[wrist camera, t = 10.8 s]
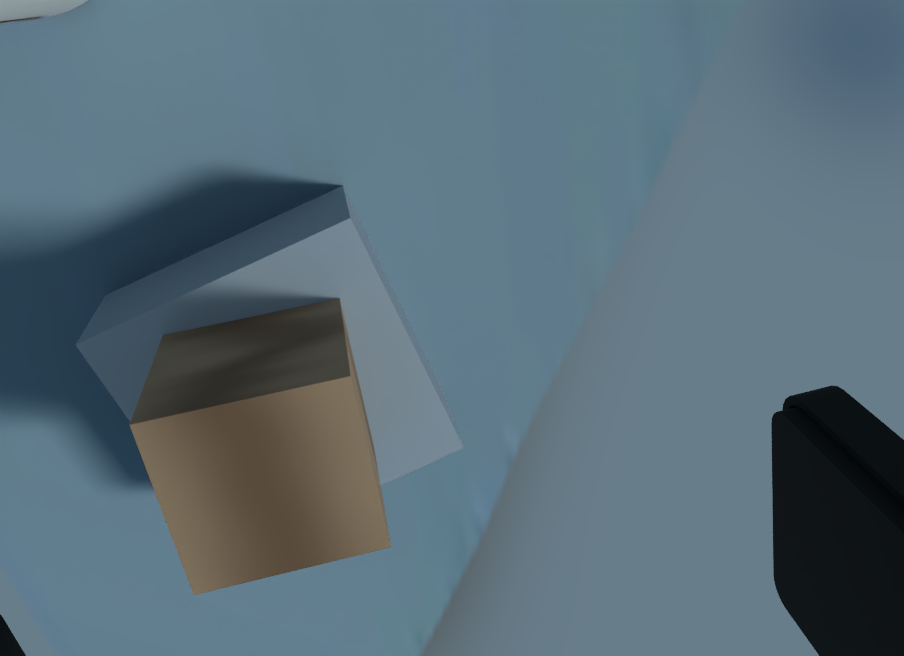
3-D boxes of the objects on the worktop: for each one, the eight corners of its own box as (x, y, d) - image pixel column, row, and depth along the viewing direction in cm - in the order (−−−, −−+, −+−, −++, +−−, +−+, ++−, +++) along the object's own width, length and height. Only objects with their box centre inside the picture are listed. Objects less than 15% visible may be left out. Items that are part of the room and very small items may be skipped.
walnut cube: (339, 298, 27) (351, 376, 22) (373, 444, 30) (390, 546, 25) (162, 335, 27) (129, 425, 21) (212, 481, 29) (193, 595, 24)
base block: (342, 183, 31) (350, 217, 26) (441, 388, 35) (463, 447, 31) (107, 292, 31) (74, 344, 26) (235, 483, 35) (226, 557, 31)
